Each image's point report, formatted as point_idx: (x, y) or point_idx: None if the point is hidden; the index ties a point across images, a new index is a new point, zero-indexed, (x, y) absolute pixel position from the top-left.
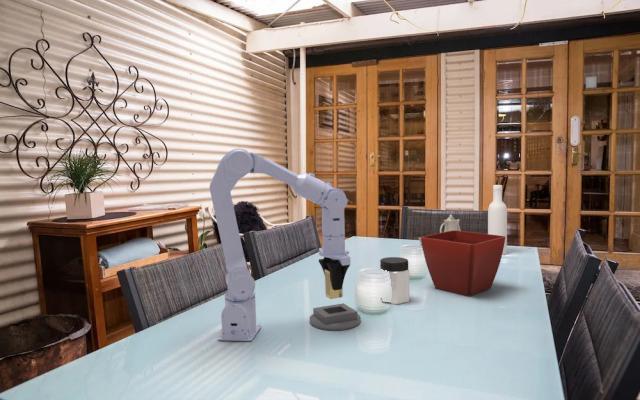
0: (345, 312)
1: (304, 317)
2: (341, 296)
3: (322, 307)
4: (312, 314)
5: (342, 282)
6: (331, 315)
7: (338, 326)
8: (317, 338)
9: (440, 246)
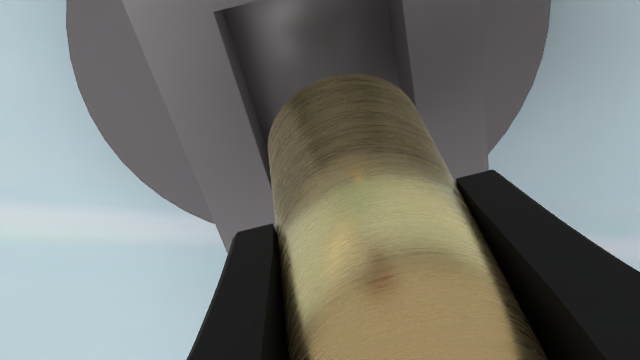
0: (443, 3)
1: (170, 243)
2: (412, 103)
3: (224, 186)
4: (198, 216)
5: (563, 233)
6: (471, 143)
7: (535, 68)
8: (580, 198)
9: None
